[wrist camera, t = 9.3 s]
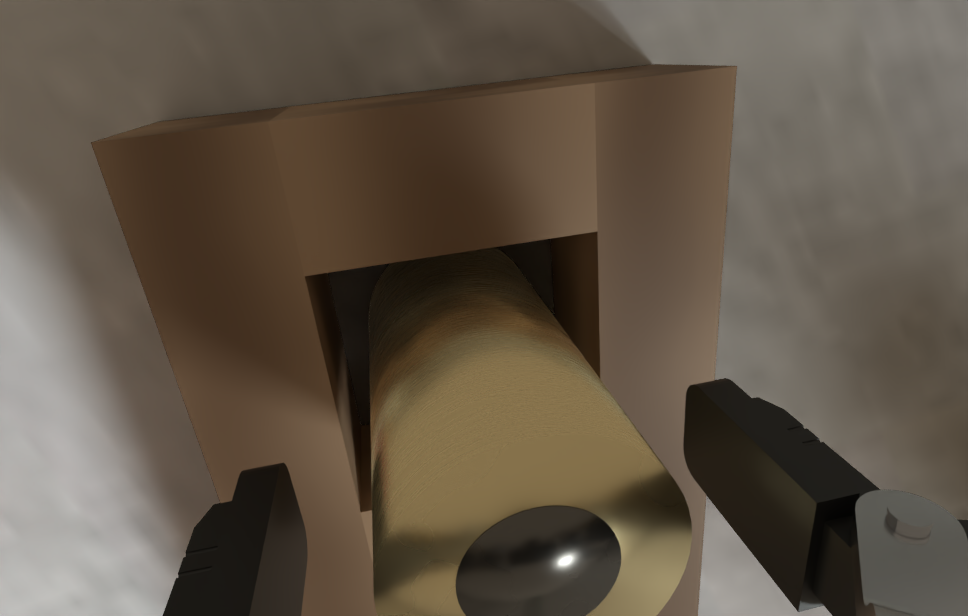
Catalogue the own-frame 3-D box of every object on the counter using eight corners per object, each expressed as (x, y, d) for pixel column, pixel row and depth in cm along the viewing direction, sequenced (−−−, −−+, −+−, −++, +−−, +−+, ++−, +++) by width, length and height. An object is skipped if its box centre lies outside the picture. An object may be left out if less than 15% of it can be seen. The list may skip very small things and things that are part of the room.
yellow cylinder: (524, 224, 17) (701, 407, 8) (535, 371, 19) (687, 647, 10) (354, 250, 17) (342, 478, 8) (383, 399, 19) (402, 720, 10)
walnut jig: (653, 64, 16) (736, 65, 13) (642, 650, 26) (688, 746, 22) (158, 121, 15) (90, 142, 11) (345, 725, 24) (342, 842, 21)
